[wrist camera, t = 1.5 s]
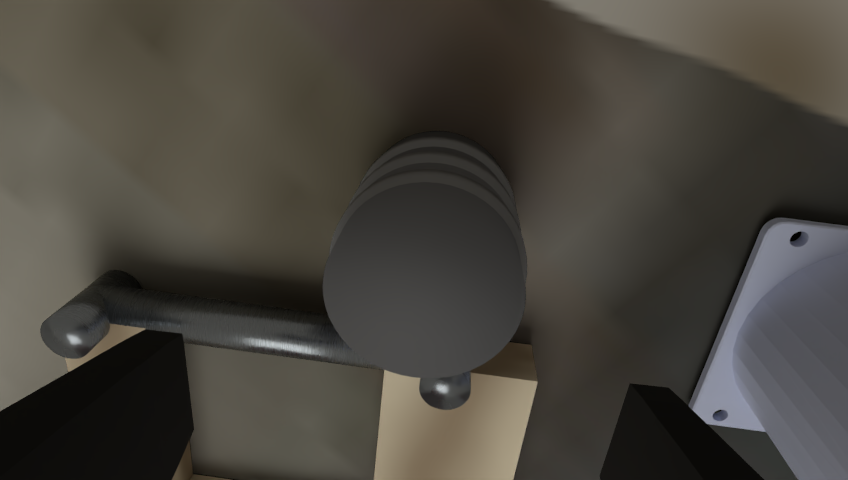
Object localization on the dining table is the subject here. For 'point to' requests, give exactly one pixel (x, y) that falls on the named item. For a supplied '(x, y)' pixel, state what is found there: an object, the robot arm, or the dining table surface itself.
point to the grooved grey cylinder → (428, 260)
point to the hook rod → (216, 329)
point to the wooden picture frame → (430, 421)
